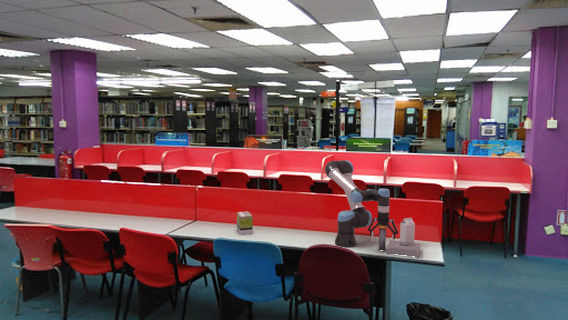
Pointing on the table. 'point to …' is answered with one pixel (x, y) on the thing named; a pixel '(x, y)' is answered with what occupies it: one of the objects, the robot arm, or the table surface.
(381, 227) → the grey orange-topped cylinder
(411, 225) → the milk carton
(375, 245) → the table surface
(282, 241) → the table surface
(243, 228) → the tea box
